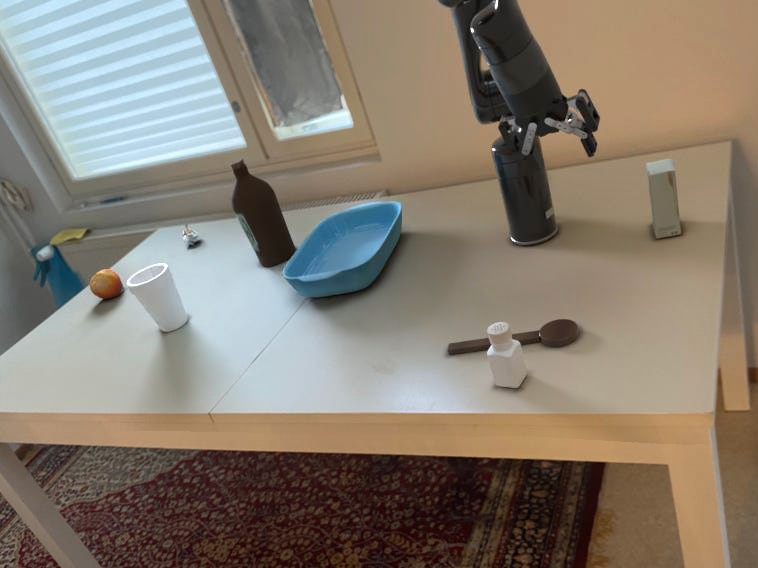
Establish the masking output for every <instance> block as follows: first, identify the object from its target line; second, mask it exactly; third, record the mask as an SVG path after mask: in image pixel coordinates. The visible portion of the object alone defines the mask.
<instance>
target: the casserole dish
mask: <svg viewBox="0 0 758 568" xmlns="http://www.w3.org/2000/svg"><path fill="white" fill-rule="evenodd" d="M402 228H403V204H402V203H401V202H399V201H371V202H367V203H362V204H358V205H355V206H352V207H350V208H347V209H345V210H342V211H338V212H336V213H333V214H330V215H328V216H327V217H325V218H324V219H322V220H321V221H320V222H318V224H316V225H315V226H314V227H313V229H312V230H311V231H310V232H309V234H308V235H307V236H306V237H305V239H304V240H303V242H301V244H300V245H299V246H298V248H297V249H296V252H295V253H294V255H293V256H292V257H290V258H289V259H288V261H287V263H286V265H284V268H283V270H282V273H281V274H282V277H283V278H284V280H286V282H287V283H288V284H289V285H290V286H291V287H292V288H293V289H294V290H295V292H297V293H298V294H299V295H301V296H302V297H307V298H315V299H316V298H325V297H331V296H334V295H335V296H336V295H337V296H338V295H342V294H348V293H349V294H350V293H354V292H358V291H361V290H364V289H366V288H368V287H369V286H370V285H371V284H372V283H373V282H374V281H375V280H376V279H377V278H378V276H379V275H380V274H381V272H382V270H383V268H384V267H385V265H386V264H387V262H388V260H389V258H390V256H391V254H392V252H393V251H394V249H395V247H396V245H397V244H398V241H399V239H400V237H401V233H402V230H403V229H402Z"/></svg>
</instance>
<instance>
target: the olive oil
mask: <svg viewBox="0 0 758 568" xmlns="http://www.w3.org/2000/svg"><path fill="white" fill-rule="evenodd" d="M229 165H230V167H231V171H232V173H233V175H234V177H235V182H234V186H233V188H232V190H231V194H230V205H231V208H232V211H233V213H234V215H235V218H237V221H238V223H239V224H240V226H241V227H242V228H241V229H242V230H243V232H244V233H245V236H246V238H247V240H248V241H249V244H250V245H251V248H252V249H253V252H254V253H255V255H256V257H257V259H258V261H259V264H260V265H261V266H264V267H271V266H276V265H279V264H282V263H284V262H286V261H287V260H290V259H291V257H292V256H293V255H294V253H295V252H296V251H297V249H296V245H295V244H294V240H293V238H292V235H291V233H290V230H289V228H288V226H287V222H286V220H285V216H284V214H283V212H282V208H281V206H280V202H279V200H278V198H277V194H276V192H275V190H274V188H273V187H272V186H271V184H270V183H268V182H267V181H266V180H264V179H261V178H259V177H257V176H255V175H253V174H251V173H250V171H249V169H248V166H247V164H246V163H245V161H244V159H243V158H237V159H234V160H232V161H231V162H230V163H229Z"/></svg>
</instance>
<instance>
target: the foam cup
mask: <svg viewBox="0 0 758 568" xmlns="http://www.w3.org/2000/svg"><path fill="white" fill-rule="evenodd" d="M126 286H127V288H128V290H129V291H130V293H131V295H133V296H134V297H135V298H136V300H137V301H138V302H139V303H140V304H141V306H142V307H143V309H144V310H145V311H146V312H147V313H148V315H149V316H150V317H151V319H152V320H153V321H154V322H155V324H156V325H157V326H158V327H159V329H160V330H161V331H162V332H164V333H169V332H172V331H175V330H177V329H180V328H181V327H183V326H184V325H185V324H186V323H187V322H188V319H189V317H188V313H187V311H186V309H185V307H184V303H183V301H182V298H181V295H180V293H179V290H178V288H177V285H176V283H175V280H174V278H173V273H172V271H171V269H170V266H169V265H168V264H166V263H156V264H152V265H149V266H147V267H144V268H142V269H141V270H139V271H137V272H135V273H134V274H132V275H131V276H130V277H129V278H128V279H127V281H126Z"/></svg>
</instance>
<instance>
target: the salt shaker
mask: <svg viewBox="0 0 758 568" xmlns="http://www.w3.org/2000/svg"><path fill="white" fill-rule="evenodd" d="M486 332H487V336H488V338H489V340H490V343H491V344H492V345H491V346H490V348H489V349H487V352H486V354H487V355H486V356H487V360H488V363H489V367H490V371H491V374H492V378H493V381H494V384H495V385H496V386H497V387H504V388H512V389H518V388H519V387H520V386H521V384H522V383H523V381H524V380H525V378H526V377H527V376H528V375H527V374H528V368H527V364H526V360H525V356H524V352H523V348H522V345H521V344H520V342H519V341H517V340H513V339H512V334H513V333H512V331H511V327H510V324H509V323H508V322H505V321H499V322H498V321H497V322H494V323H492V324H490V325H489V326H488V327H487V330H486Z"/></svg>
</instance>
